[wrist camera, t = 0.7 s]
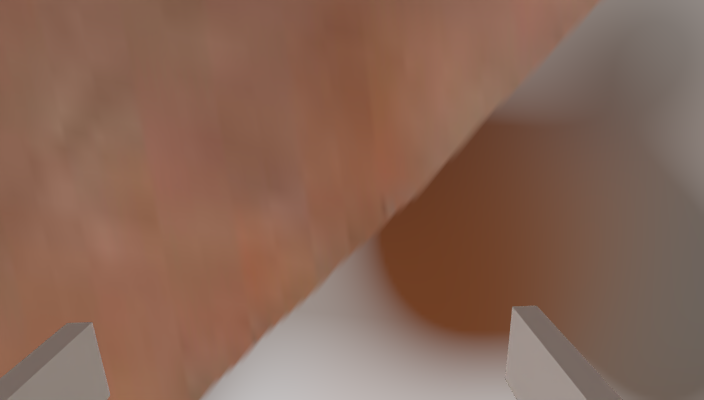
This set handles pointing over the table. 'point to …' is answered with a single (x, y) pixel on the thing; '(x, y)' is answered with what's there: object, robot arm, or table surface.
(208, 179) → the table surface
